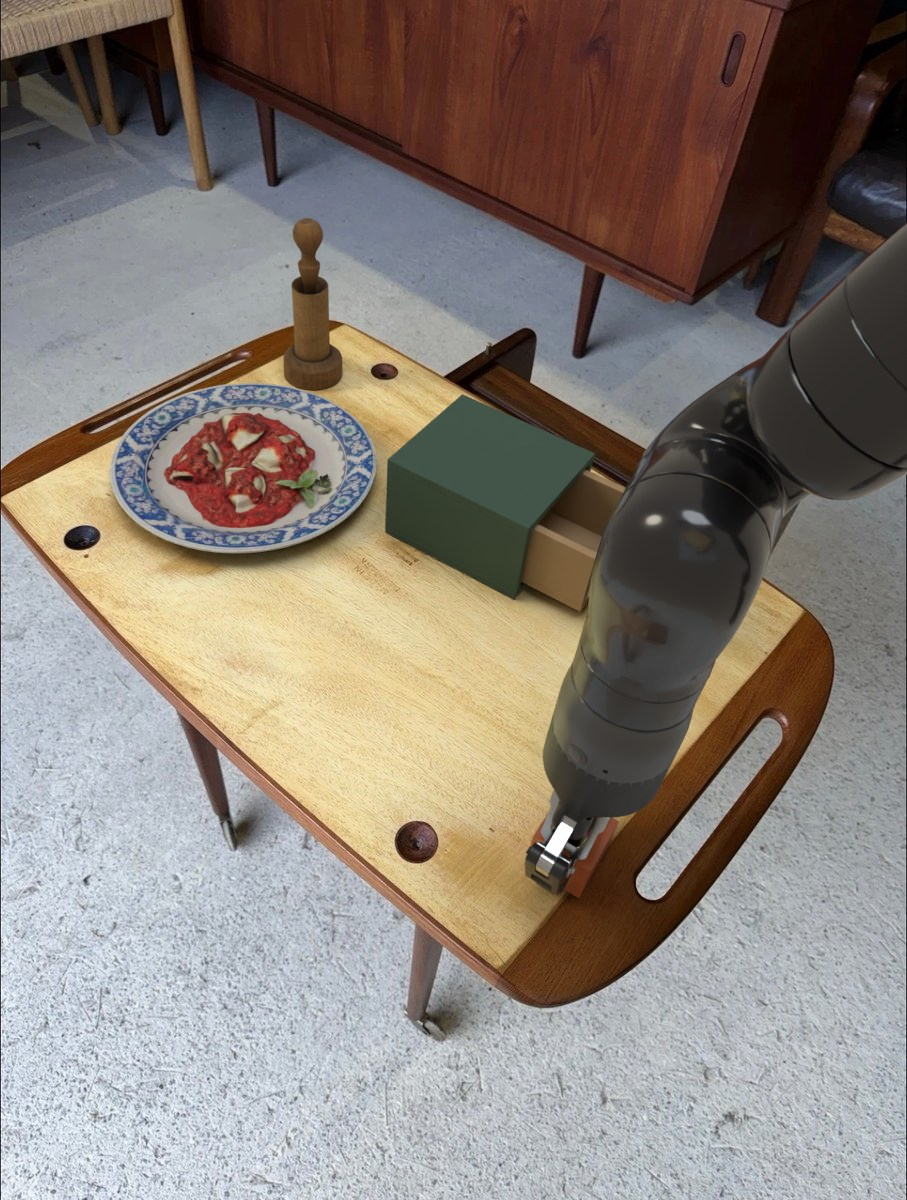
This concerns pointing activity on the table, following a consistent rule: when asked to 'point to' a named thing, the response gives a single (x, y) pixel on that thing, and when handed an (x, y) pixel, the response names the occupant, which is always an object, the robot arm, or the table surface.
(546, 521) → the drawer
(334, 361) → the mortar and pestle
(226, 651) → the table surface
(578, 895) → the block
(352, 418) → the ceramic plate
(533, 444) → the cabinet
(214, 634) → the table surface
